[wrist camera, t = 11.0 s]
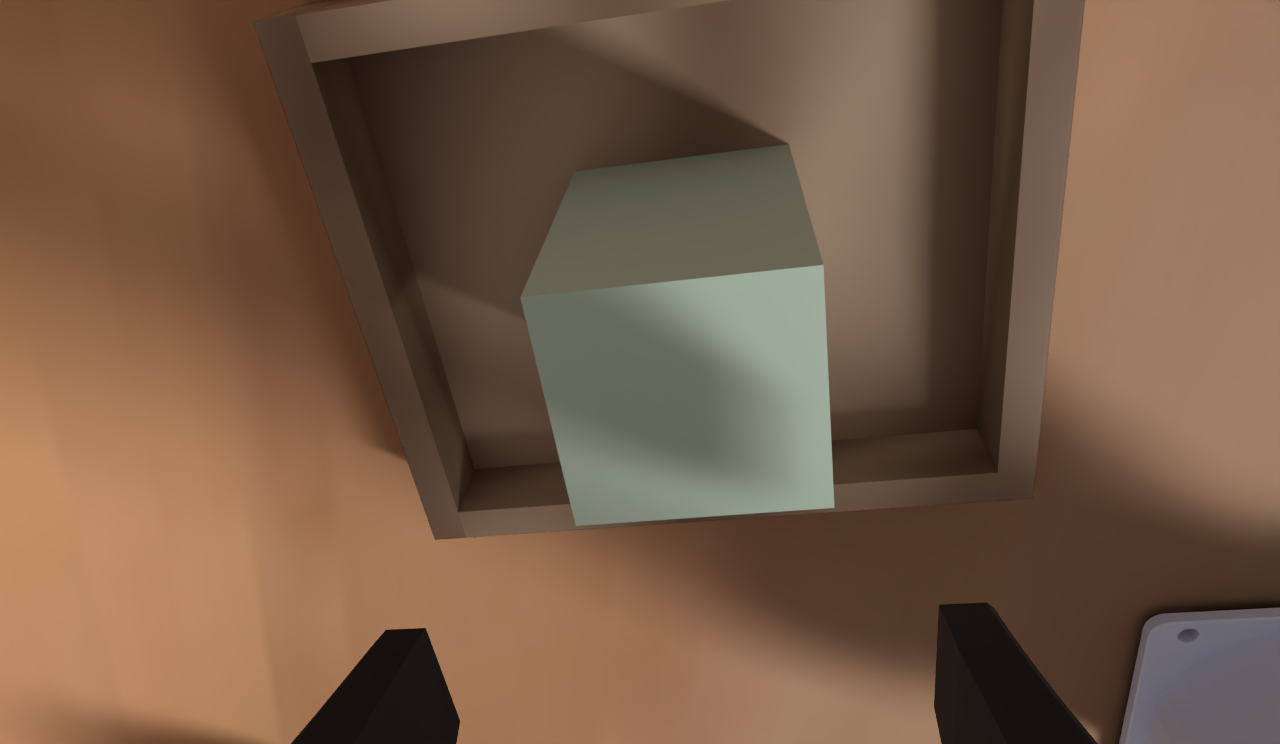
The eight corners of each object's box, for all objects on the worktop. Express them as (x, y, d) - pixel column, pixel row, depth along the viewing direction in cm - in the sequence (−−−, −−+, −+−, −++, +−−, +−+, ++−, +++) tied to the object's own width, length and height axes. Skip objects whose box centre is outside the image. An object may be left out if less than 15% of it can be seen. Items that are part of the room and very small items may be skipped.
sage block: (789, 144, 17) (823, 264, 12) (800, 336, 19) (834, 508, 14) (574, 171, 18) (519, 297, 13) (609, 354, 20) (575, 526, 15)
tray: (1047, -116, 15) (1096, -112, 13) (1003, 441, 21) (1033, 498, 19) (303, 4, 17) (252, 22, 15) (457, 483, 23) (435, 539, 21)
